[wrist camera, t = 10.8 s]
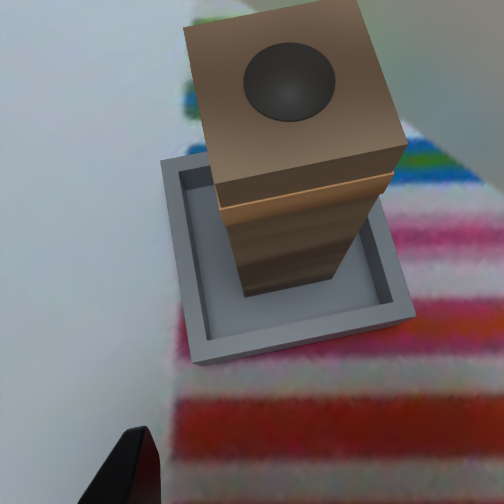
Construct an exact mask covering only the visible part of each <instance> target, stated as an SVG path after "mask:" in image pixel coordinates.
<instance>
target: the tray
mask: <svg viewBox="0 0 504 504" xmlns="http://www.w3.org/2000/svg"><path fill="white" fill-rule="evenodd" d="M160 162H161V168H162V175H163V181H164V188H165V194H166V200H167V207H168V213H169V220H170V226H171V233H172V239H173V245H174V252H175V258H176V265H177V271H178V277H179V284H180V290H181V297H182V303H183V310H184V316H185V322H186V329H187V335H188V342H189V348H190V354H191V361H192V363H194V364H197V365H199V366H206V365H210V364H215V363H220V362H225V361H229V360H234V359H239V358H244V357H249V356H253V355H258V354H263V353H268V352H273V351H277V350H282V349H287V348H292V347H296V346H301V345H306V344H311V343H316V342H320V341H325V340H330V339H335V338H340V337H344V336H349V335H354V334H359V333H363V332H368V331H373V330H378V329H383V328H387V327H392V326H397V325H399V324H401V323H403V322H405V321H407V320H409V319H411V318H413V317H415V316H416V313H415V310H414V307H413V303H412V300H411V297H410V294H409V291H408V288H407V284H406V281H405V278H404V275H403V272H402V268H401V265H400V262H399V259H398V256H397V252H396V249H395V246H394V243H393V240H392V237H391V233H390V230H389V227H388V224H387V221H386V217H385V214H384V211H383V208H382V205H381V202H380V198H379V196H378V198H377V200H376V202H375V203H374V205H373V207H372V209H371V211H370V212H369V214H368V216H367V218H366V219H365V221H364V223H363V225H362V227H361V228H360V230H359V232H358V234H357V235H356V237H355V239H354V241H353V242H352V244H351V246H350V248H349V250H348V251H347V253H346V255H345V257H344V258H343V260H342V262H341V264H340V265H339V267H338V269H337V271H336V273H335V274H334V276H333V278H332V279H331V280H326V281H322V282H317V283H312V284H308V285H303V286H298V287H293V288H289V289H284V290H279V291H275V292H270V293H265V294H261V295H256V296H251V297H247V298H245V297H244V293H243V290H242V286H241V282H240V278H239V274H238V271H237V267H236V263H235V259H234V255H233V252H232V248H231V244H230V240H229V236H228V233H227V229H226V226H225V227H224V225H223V221H222V218H221V214H220V210H219V205H218V200H217V195H216V190H215V186H214V181H213V176H212V171H211V166H210V161H209V156H208V151H207V152H202V153H197V154H192V155H187V156H182V157H176V158H171V159H166V160H161V161H160Z"/></svg>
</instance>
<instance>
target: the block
mask: <svg viewBox="0 0 504 504" xmlns="http://www.w3.org/2000/svg"><path fill="white" fill-rule="evenodd" d="M183 30H184V35H185V40H186V45H187V50H188V55H189V60H190V67H191V72H192V77H193V82H194V87H195V92H196V97H197V102H198V107H199V111H200V116H201V121H202V126H203V131H204V136H205V141H206V146H207V151H208V156H209V161H210V166H211V171H212V176H213V181H214V186H215V190H216V195H217V200H218V205H219V210H220V214H221V218H222V221H223V225H224V227H225V226H226V229H227V233H228V236H229V240H230V244H231V248H232V252H233V255H234V259H235V263H236V267H237V271H238V274H239V278H240V282H241V286H242V290H243V293H244V297H245V298H247V297H251V296H256V295H261V294H265V293H270V292H275V291H279V290H284V289H289V288H293V287H298V286H303V285H308V284H312V283H317V282H322V281H326V280H331V279H332V278H333V276H334V274H335V273H336V271H337V269H338V267H339V265H340V264H341V262H342V260H343V258H344V257H345V255H346V253H347V251H348V250H349V248H350V246H351V244H352V242H353V241H354V239H355V237H356V235H357V234H358V232H359V230H360V228H361V227H362V225H363V223H364V221H365V219H366V218H367V216H368V214H369V212H370V211H371V209H372V207H373V205H374V203H375V202H376V200H377V198H378V196H379V195H380V194H383V193H384V191H385V189H386V188H387V186H388V184H389V182H390V181H391V179H392V177H393V175H394V171H393V170H394V168H395V166H396V165H397V163H398V161H399V159H400V157H401V156H402V154H403V152H404V150H405V149H406V147H407V145H408V142H407V140H406V137H405V134H404V131H403V128H402V126H401V123H400V120H399V117H398V115H397V112H396V109H395V106H394V104H393V101H392V98H391V95H390V92H389V89H388V87H387V84H386V81H385V79H384V76H383V73H382V70H381V67H380V64H379V62H378V59H377V56H376V53H375V50H374V48H373V45H372V42H371V40H370V36H369V34H368V31H367V28H366V26H365V23H364V20H363V17H362V14H361V11H360V9H359V6H358V3H357V0H321V1H316V2H311V3H306V4H301V5H295V6H290V7H285V8H280V9H276V10H270V11H265V12H260V13H255V14H250V15H245V16H239V17H234V18H229V19H224V20H219V21H214V22H209V23H204V24H199V25H194V26H189V27H183Z"/></svg>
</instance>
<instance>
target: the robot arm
mask: <svg viewBox="0 0 504 504" xmlns="http://www.w3.org/2000/svg"><path fill="white" fill-rule="evenodd" d="M77 504H161V477H160V458H159V453H158V450H157V448H156V445H155V443H154V440H153V438H152V435H151V433H150V430H149V429H148V427H147V426H140V427H135V428H130V429H127V430H126V431H125V432H124V433H123V434H122V436H121V437H120V439H119V441H118V442H117V444H116V445H115V447H114V448H113V450H112V451H111V453H110V454H109V456H108V457H107V459H106V460H105V462H104V463H103V465H102V466H101V468H100V469H99V471H98V472H97V474H96V476H95V477H94V479H93V480H92V482H91V483H90V485H89V486H88V488H87V489H86V491H85V492H84V494H83V495H82V497H81V498H80V500H79V501H78V503H77Z"/></svg>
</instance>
